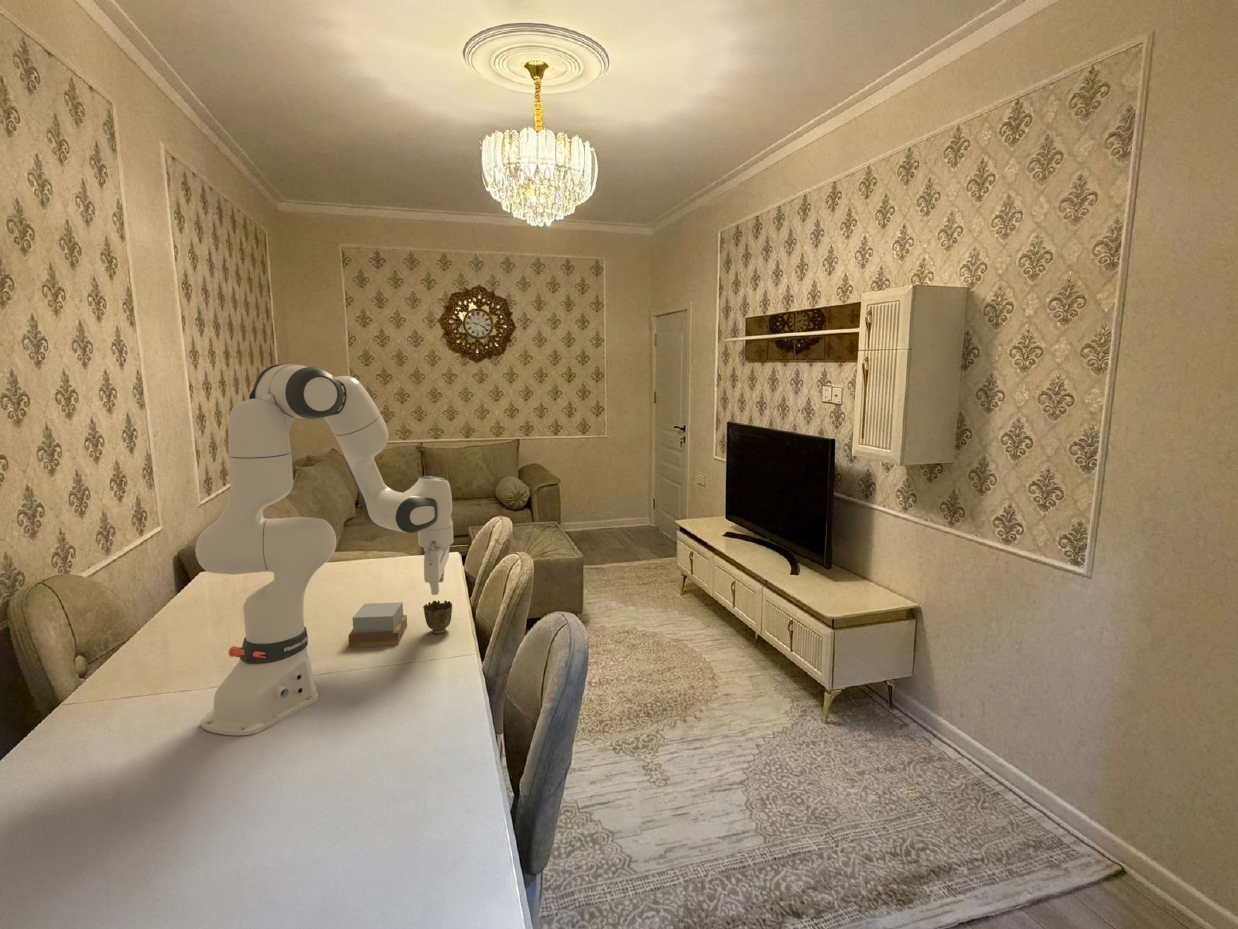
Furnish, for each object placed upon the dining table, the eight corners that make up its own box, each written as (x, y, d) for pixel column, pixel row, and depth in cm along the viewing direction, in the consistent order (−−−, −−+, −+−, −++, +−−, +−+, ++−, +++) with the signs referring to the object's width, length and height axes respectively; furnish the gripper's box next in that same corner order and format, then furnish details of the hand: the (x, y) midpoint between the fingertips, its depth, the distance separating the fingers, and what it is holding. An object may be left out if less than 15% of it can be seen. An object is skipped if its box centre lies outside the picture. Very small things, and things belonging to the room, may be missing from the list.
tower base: (398, 647, 162) (397, 632, 161) (349, 650, 160) (348, 635, 160) (407, 629, 174) (406, 615, 173) (361, 631, 172) (360, 617, 171)
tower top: (393, 631, 162) (392, 616, 162) (353, 632, 161) (352, 617, 161) (403, 616, 172) (402, 602, 171) (365, 617, 171) (364, 603, 171)
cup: (457, 628, 173) (456, 600, 171) (447, 639, 165) (446, 610, 164) (431, 627, 173) (429, 599, 172) (420, 638, 166) (418, 609, 165)
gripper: (443, 547, 156) (445, 601, 158) (452, 526, 176) (454, 574, 178) (416, 548, 155) (419, 602, 157) (429, 527, 175) (431, 575, 177)
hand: (437, 587), depth 168 cm, fingers open, 8 cm apart
